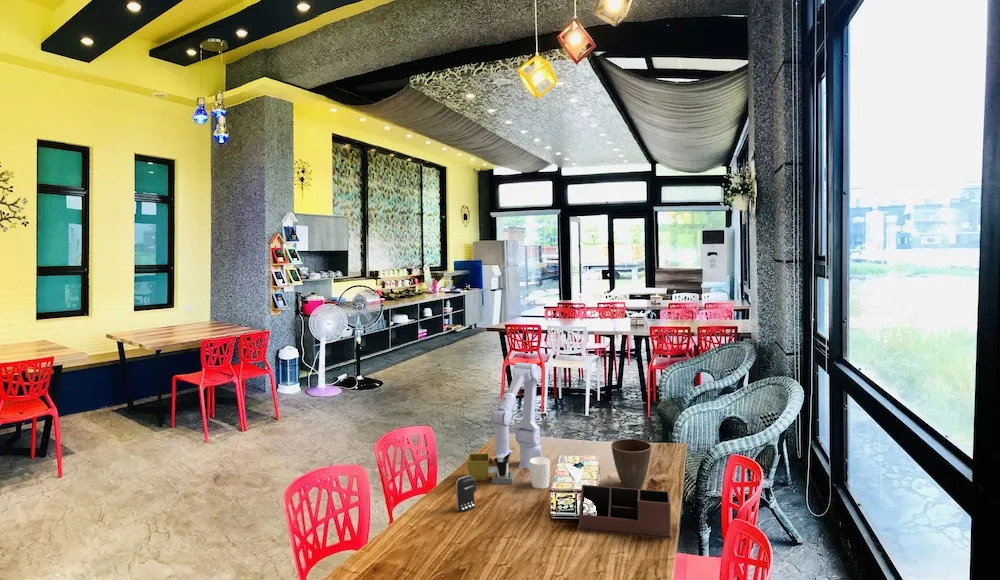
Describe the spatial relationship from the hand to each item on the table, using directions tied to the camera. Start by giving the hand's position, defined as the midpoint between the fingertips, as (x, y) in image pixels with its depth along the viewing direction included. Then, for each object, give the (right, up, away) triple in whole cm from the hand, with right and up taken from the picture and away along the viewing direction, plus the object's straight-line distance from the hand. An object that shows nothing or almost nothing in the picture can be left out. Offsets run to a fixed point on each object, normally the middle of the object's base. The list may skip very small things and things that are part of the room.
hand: (503, 473), depth 223 cm
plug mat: (-2, -3, +12) cm, 12 cm away
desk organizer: (+39, -4, -41) cm, 57 cm away
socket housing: (0, -3, 0) cm, 3 cm away
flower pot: (-10, -4, +3) cm, 11 cm away
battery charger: (-13, -5, -24) cm, 28 cm away
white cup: (+15, -3, -6) cm, 16 cm away
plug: (0, -2, 0) cm, 2 cm away
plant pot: (+49, -2, -9) cm, 50 cm away
